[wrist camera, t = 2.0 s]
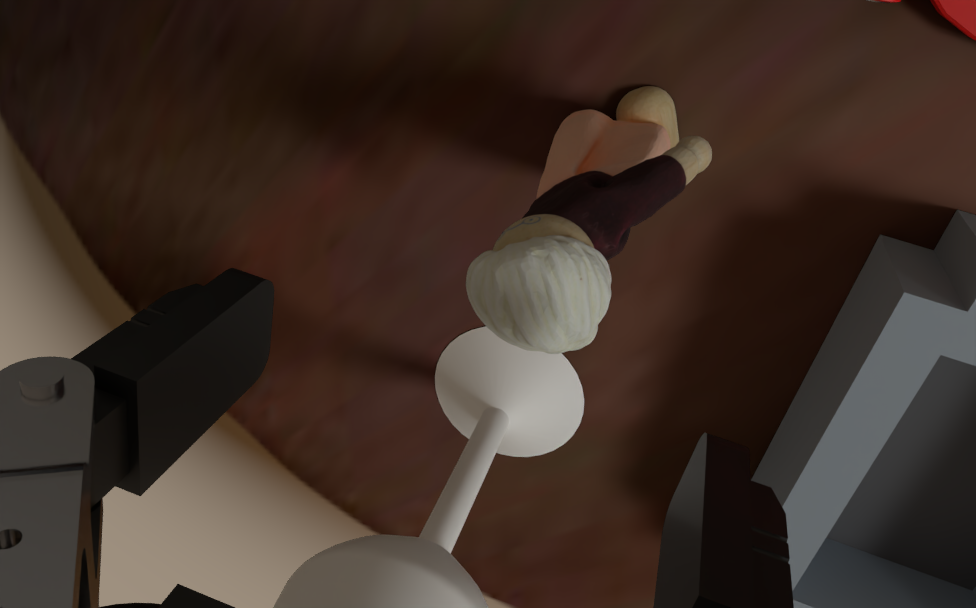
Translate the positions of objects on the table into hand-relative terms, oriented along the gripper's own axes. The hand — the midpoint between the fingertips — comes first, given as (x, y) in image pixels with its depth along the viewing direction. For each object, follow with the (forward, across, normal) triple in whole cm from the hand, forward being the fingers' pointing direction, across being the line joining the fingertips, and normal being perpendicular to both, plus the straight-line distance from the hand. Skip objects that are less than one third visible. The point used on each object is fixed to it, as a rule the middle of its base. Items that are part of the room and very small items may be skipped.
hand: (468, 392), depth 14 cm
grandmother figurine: (+16, 0, 0) cm, 16 cm away
